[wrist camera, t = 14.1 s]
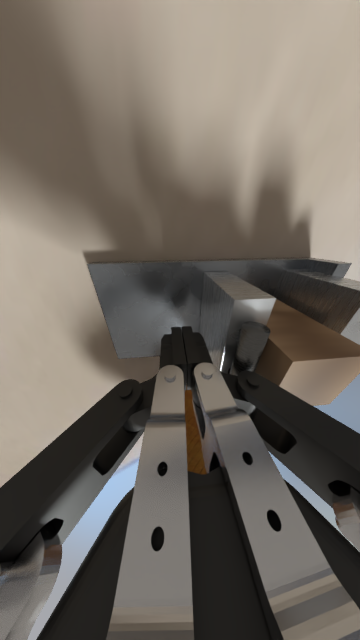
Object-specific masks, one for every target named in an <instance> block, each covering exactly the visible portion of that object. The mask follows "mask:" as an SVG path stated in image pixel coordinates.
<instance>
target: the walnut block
mask: <svg viewBox="0 0 360 640" xmlns="http://www.w3.org/2000/svg"><path fill="white" fill-rule="evenodd" d="M266 326H267V327H268V328H269V329H270V331H271V332H270V335H269V338H268V340H267V343H266V345H265V348H264V350H263V353H262V355H261V358H260V360H259V363H258V365H257V368H256V370H255V372H256V373H258V374H259V375H261V376H263V377H264V378H266V379H268V380H269V381H271V382H273V383H275V384H276V385H278V386H280V387H281V388H283V389H285V390H286V391H288V392H290V393H291V394H293V395H295V396H297V397H298V398H300V399H302V400H303V401H305V402H307V403H308V404H310V405H312V406H316V405H326V404H330V403H331V402H332V401H333V400H334V399H335V398H336V397H337V396H338V395H339V394H340V393H341V392H342V391H343V390H344V389H345V388H346V387H347V386H348V385H349V384H350V383H351V382H352V380H353V379H355V377H356V376H357V375H358V374H359V373H360V345H359V344H357V343H355V342H353V341H351V340H350V339H348V338H346V337H344V336H342V335H341V334H339V333H337V332H335V331H333V330H332V329H330V328H328V327H326V326H324V325H323V324H321V323H319V322H317V321H315V320H313V319H312V318H310V317H308V316H306V315H304V314H303V313H301V312H299V311H297V310H295V309H294V308H292V307H290V306H288V305H286V304H285V303H283V302H281V301H279V300H277V299H276V300H275V303H274V306H273V309H272V311H271V314H270V317H269V319H268V322H267V325H266Z"/></svg>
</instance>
